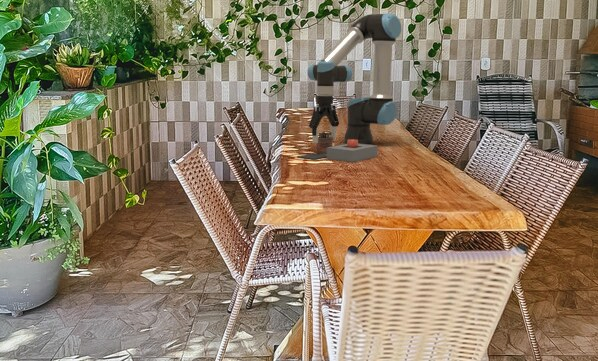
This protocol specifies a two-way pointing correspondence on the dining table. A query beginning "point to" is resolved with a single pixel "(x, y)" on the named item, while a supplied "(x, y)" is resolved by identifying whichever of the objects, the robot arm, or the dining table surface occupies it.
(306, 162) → the dining table surface
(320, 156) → the mat
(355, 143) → the red dome button
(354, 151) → the button panel
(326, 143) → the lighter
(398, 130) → the dining table surface
